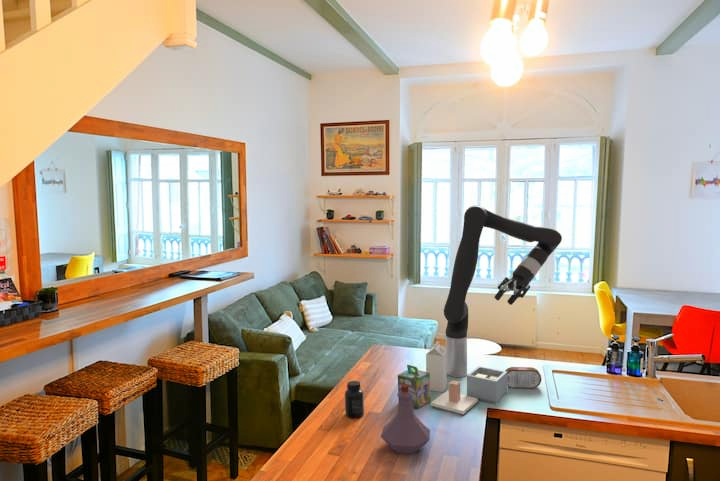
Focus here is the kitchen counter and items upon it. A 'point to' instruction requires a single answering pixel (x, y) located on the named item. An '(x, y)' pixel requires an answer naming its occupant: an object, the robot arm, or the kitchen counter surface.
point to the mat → (448, 410)
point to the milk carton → (437, 367)
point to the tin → (523, 377)
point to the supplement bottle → (354, 400)
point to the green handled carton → (416, 385)
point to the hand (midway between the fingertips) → (502, 301)
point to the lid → (454, 399)
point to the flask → (405, 427)
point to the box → (487, 384)
